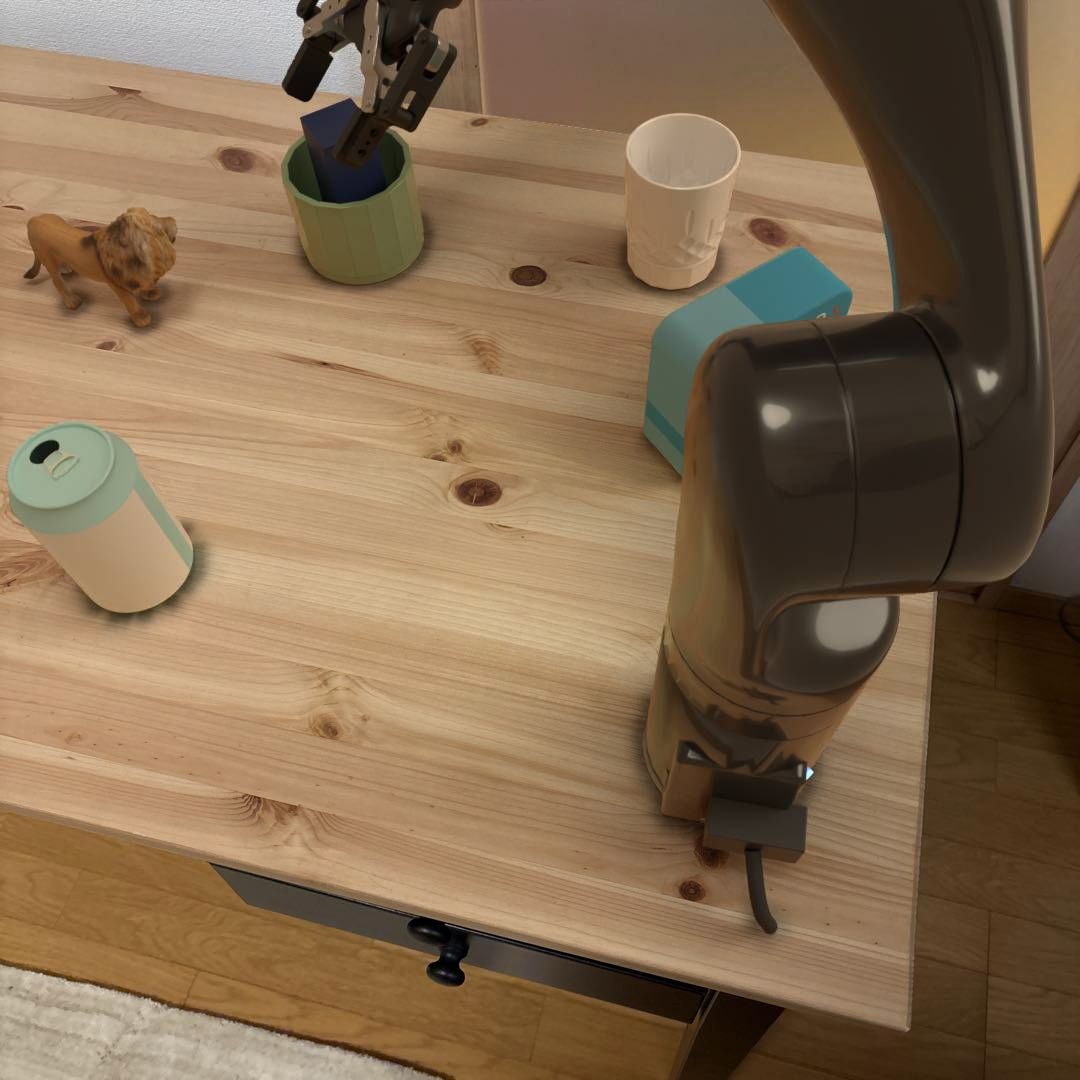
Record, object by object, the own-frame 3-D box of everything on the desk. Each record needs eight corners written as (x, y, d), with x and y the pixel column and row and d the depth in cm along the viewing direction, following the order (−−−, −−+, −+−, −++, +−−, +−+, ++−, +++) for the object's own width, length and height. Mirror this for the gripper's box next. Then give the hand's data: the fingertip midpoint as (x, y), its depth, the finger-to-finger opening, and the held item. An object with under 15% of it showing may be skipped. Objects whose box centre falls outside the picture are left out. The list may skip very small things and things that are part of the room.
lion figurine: (215, 286, 77) (175, 192, 69) (188, 337, 75) (143, 245, 67) (42, 259, 79) (-15, 165, 71) (10, 308, 77) (-54, 216, 69)
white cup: (622, 220, 79) (628, 110, 71) (722, 224, 79) (740, 114, 70) (616, 294, 75) (622, 186, 67) (722, 299, 75) (741, 191, 66)
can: (74, 617, 63) (-24, 517, 53) (100, 522, 66) (13, 410, 56) (185, 617, 63) (109, 516, 52) (205, 521, 66) (137, 409, 56)
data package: (680, 487, 66) (699, 370, 56) (639, 442, 68) (651, 320, 58) (818, 405, 70) (860, 280, 59) (775, 364, 72) (809, 236, 61)
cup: (406, 291, 76) (391, 214, 70) (289, 277, 77) (263, 199, 71) (436, 207, 81) (424, 127, 74) (325, 194, 82) (304, 114, 75)
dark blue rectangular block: (350, 258, 77) (322, 148, 68) (329, 227, 79) (299, 116, 70) (397, 238, 78) (375, 128, 69) (374, 208, 80) (350, 97, 71)
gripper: (350, -179, 62) (232, 54, 70) (458, -76, 56) (317, 169, 63) (435, -113, 68) (319, 95, 75) (542, -13, 62) (404, 204, 69)
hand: (318, 128), depth 69 cm, fingers open, 8 cm apart
